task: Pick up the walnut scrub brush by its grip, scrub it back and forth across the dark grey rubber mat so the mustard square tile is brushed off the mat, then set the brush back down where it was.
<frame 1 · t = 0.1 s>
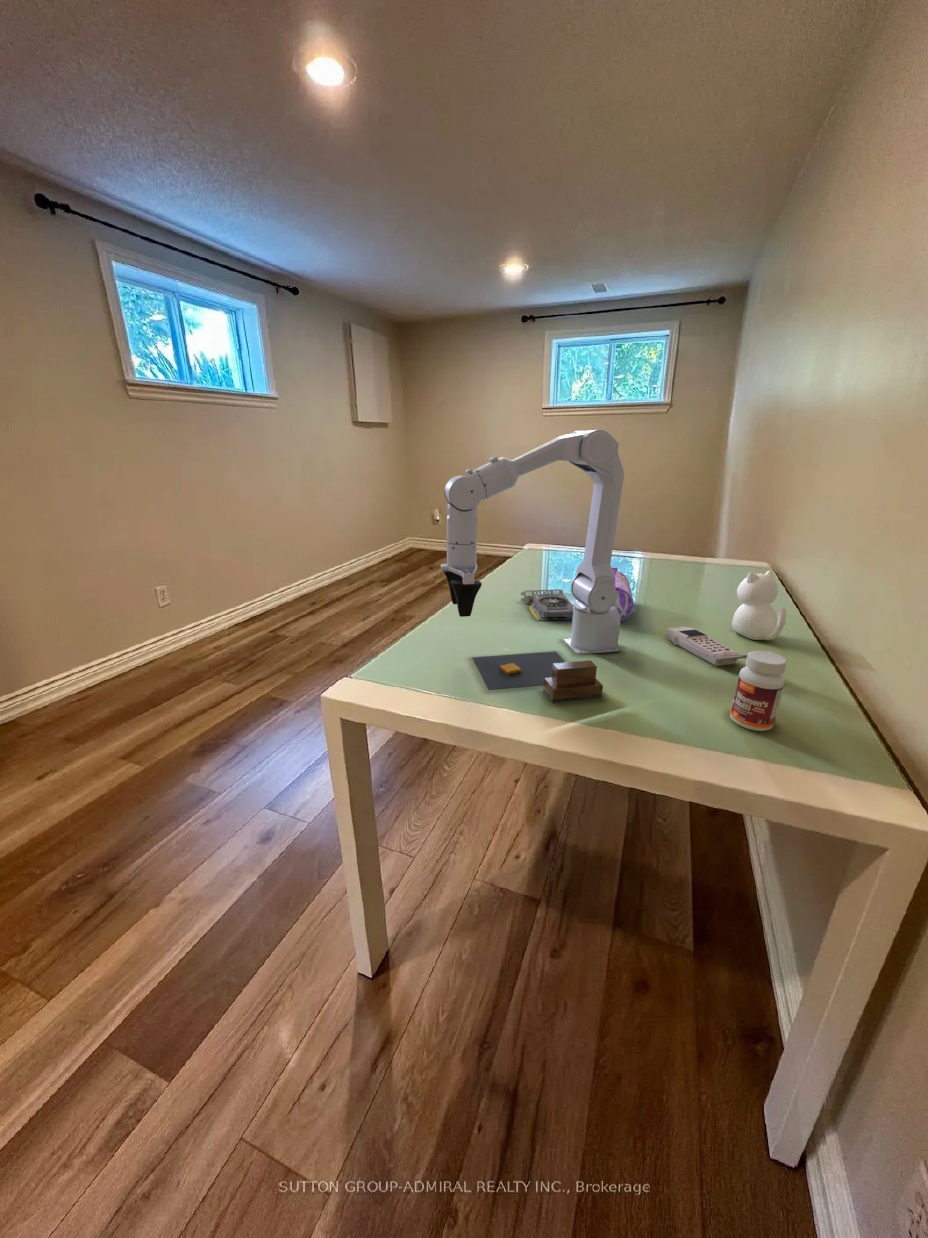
hand: (461, 609, 97), 10 cm above the table, tool pointing down, fingers open, 7 cm apart
graphics card: (548, 611, 128), on the table
scrub brush: (571, 695, 86), on the table
pencil case: (612, 611, 130), on the table
mustard square tile: (510, 670, 94), resting on mat
mat: (524, 670, 95), on the table
mobile phone: (708, 657, 102), on the table
cat figurine: (754, 637, 113), on the table
pill bottle: (750, 722, 78), on the table
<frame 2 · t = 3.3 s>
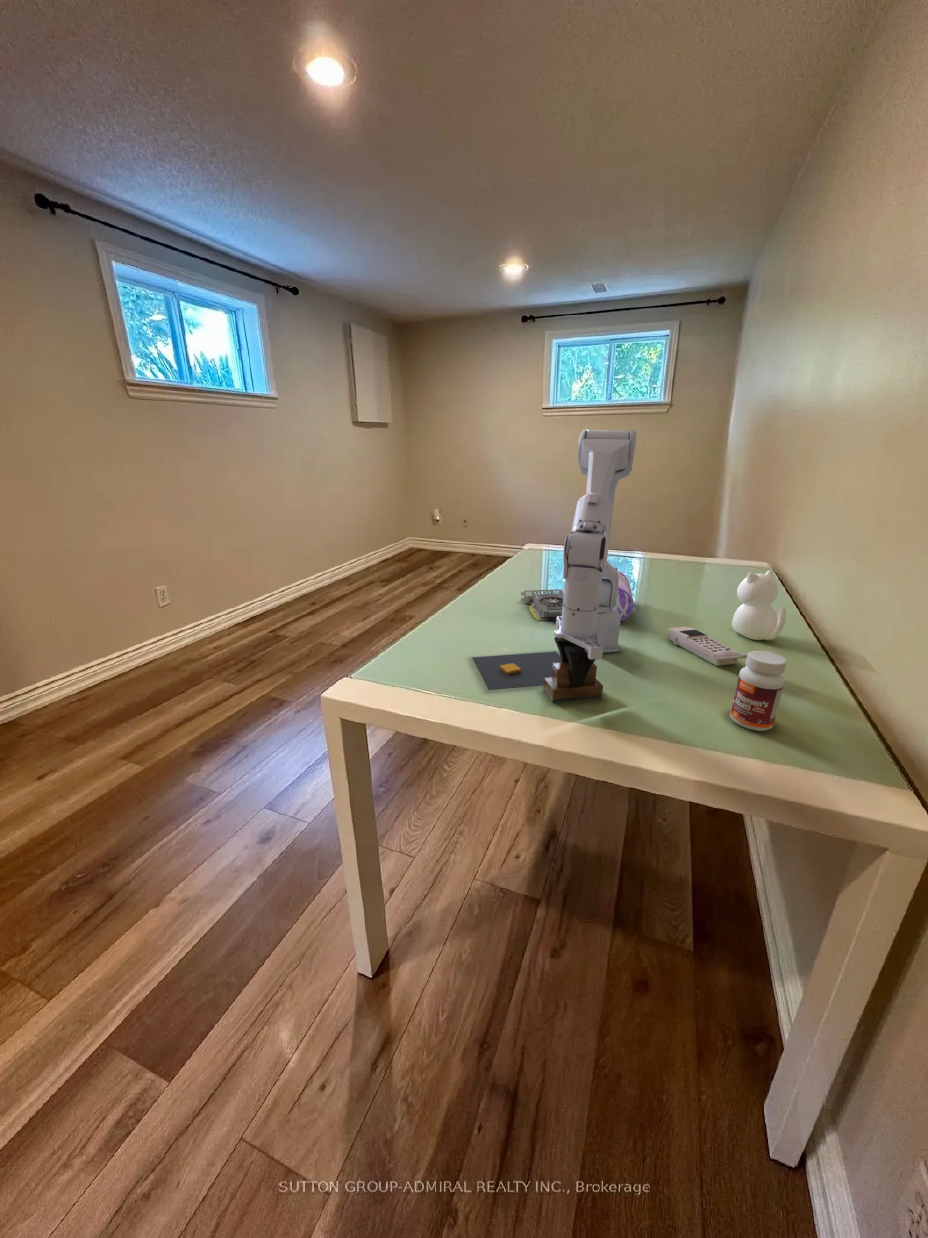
hand: (573, 680, 85), 3 cm above the table, tool pointing down, fingers closed on scrub brush, 2 cm apart
scrub brush: (571, 695, 86), on the table, touching gripper
everything else where it was.
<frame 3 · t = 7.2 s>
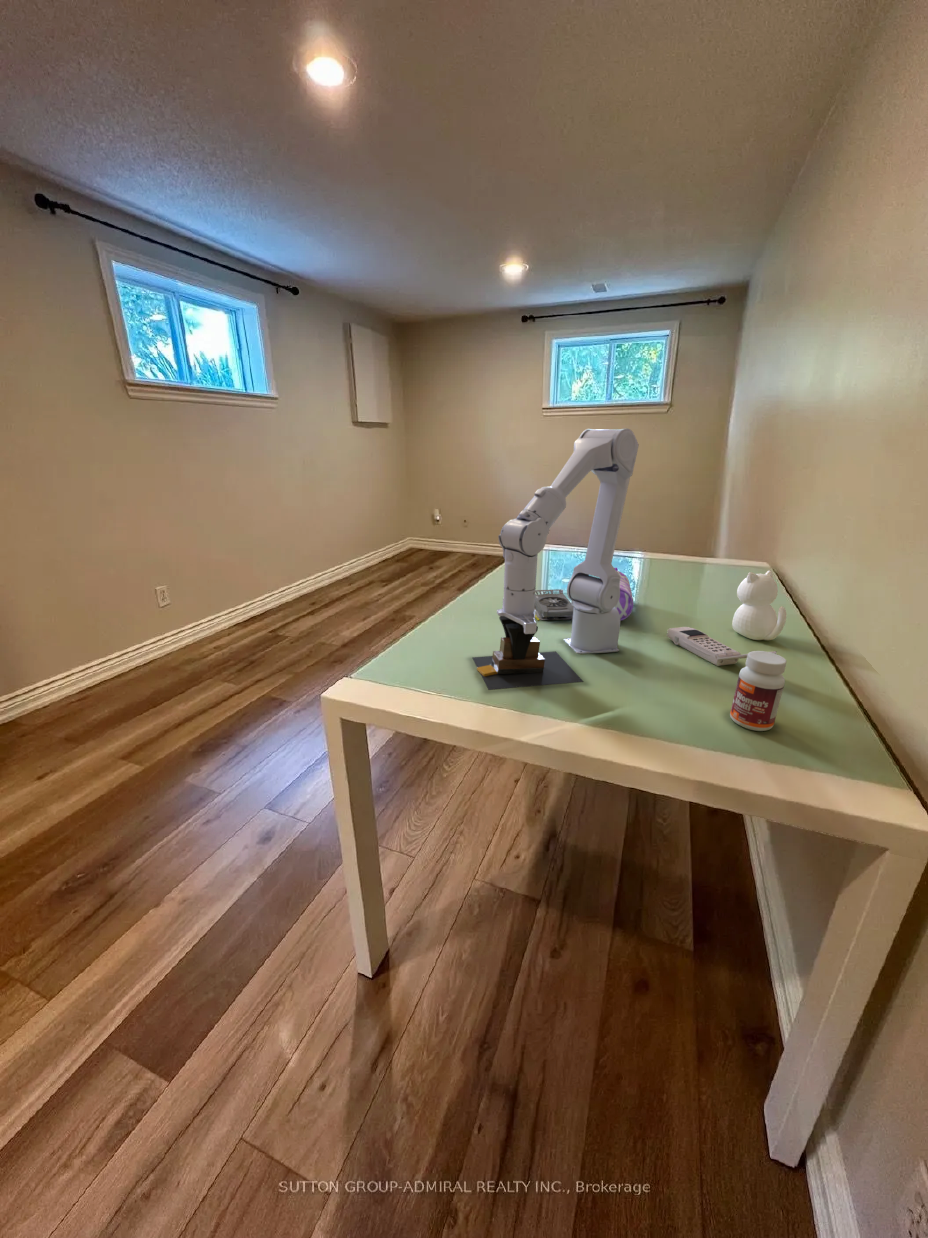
hand: (516, 655, 93), 3 cm above the table, tool pointing down, fingers closed on scrub brush, 2 cm apart
scrub brush: (517, 668, 94), point 1 cm above the table, touching mustard square tile, gripper
mustard square tile: (487, 672, 93), resting on mat, touching scrub brush
everything else where it was.
when the fingers open (3 cm above the table, at t = 15.8 s): scrub brush stays where it is, on the table.
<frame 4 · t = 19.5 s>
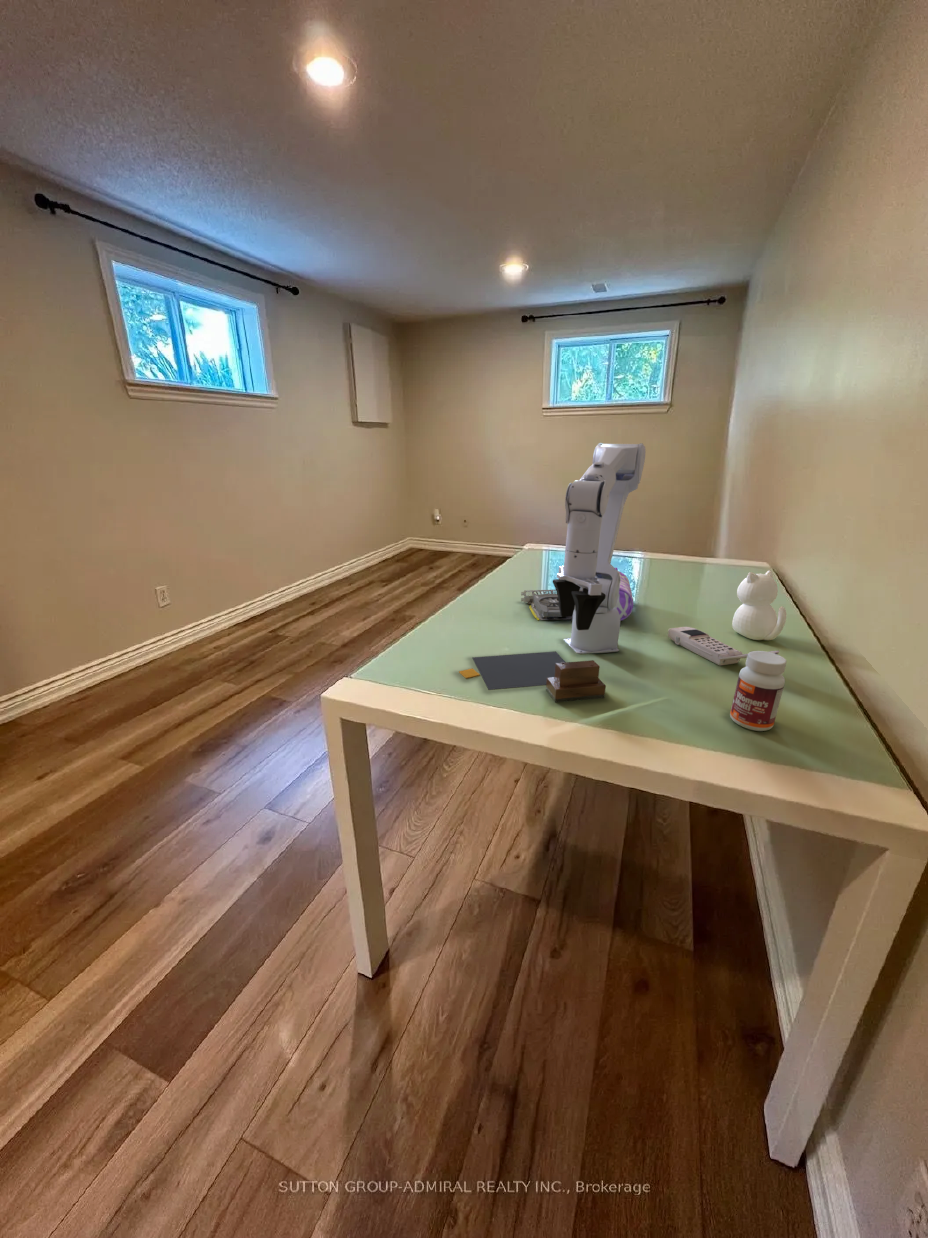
hand: (574, 622, 91), 10 cm above the table, tool pointing down, fingers open, 7 cm apart
scrub brush: (574, 695, 86), on the table
mustard square tile: (469, 675, 93), on the table
everything else where it was.
at the end: mustard square tile inside the target area (3.2 cm from its centre), on the table; scrub brush inside the target area (0.5 cm from its centre), on the table; the gripper is holding nothing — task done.
